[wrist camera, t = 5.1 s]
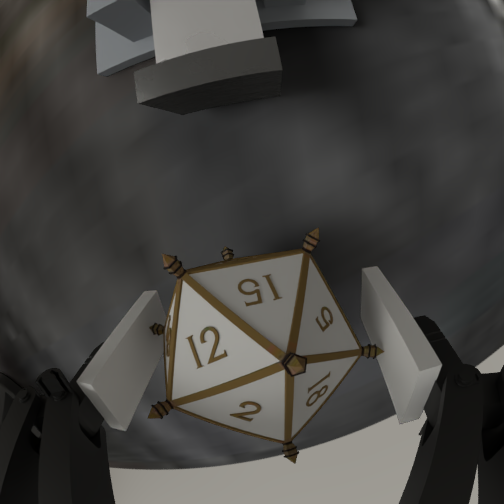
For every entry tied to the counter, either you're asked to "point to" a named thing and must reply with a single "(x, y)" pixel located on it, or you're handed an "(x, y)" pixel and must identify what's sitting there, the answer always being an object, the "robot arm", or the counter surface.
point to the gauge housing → (141, 33)
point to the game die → (255, 343)
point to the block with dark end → (208, 56)
